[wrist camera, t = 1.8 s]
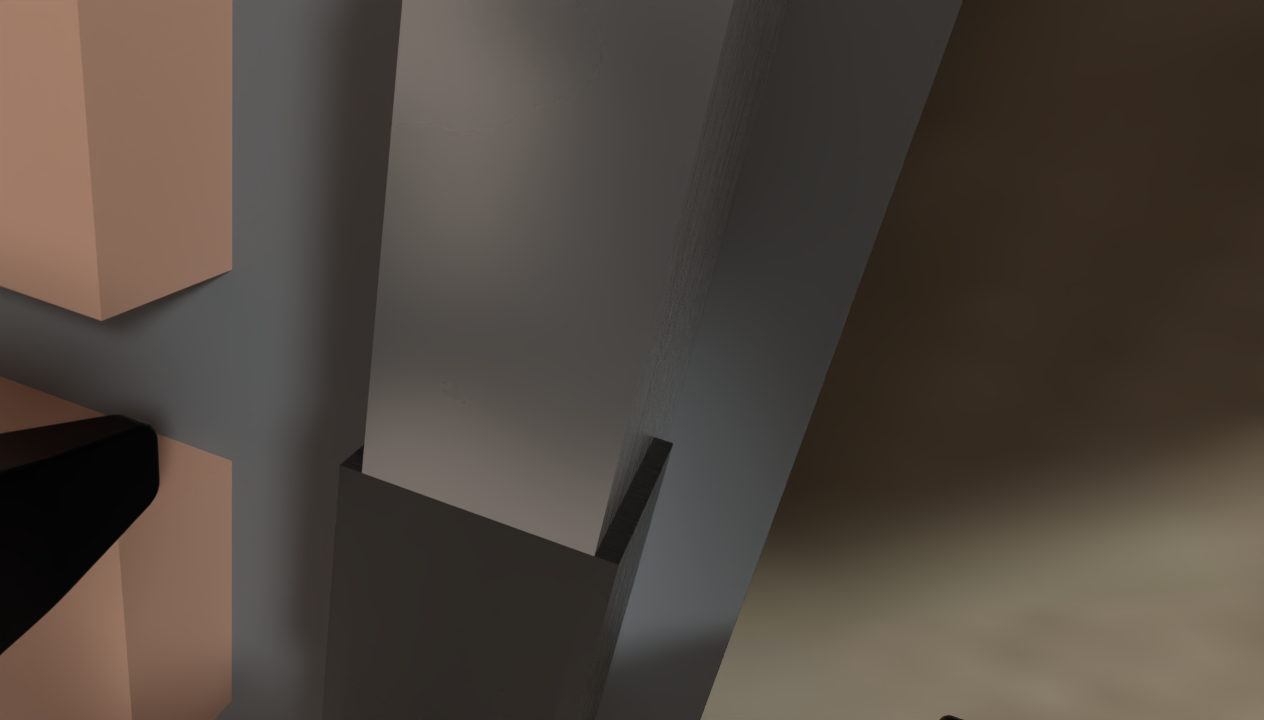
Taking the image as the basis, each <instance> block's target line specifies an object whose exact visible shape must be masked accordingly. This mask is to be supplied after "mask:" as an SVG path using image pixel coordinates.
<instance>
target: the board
mask: <svg viewBox="0 0 1264 720" xmlns="http://www.w3.org/2000/svg"><path fill="white" fill-rule="evenodd" d="M962 2H963V0H789V3H788V7H787V11H786V14H785V18H784V21H783V25H782V29H781V32H780V36H779V39H778V43H777V47H776V50H775V54H774V57H773V61H772V64H771V68H770V72H769V75H768V79H767V82H766V86H765V90H764V93H763V97H762V100H761V104H760V107H759V111H758V115H757V118H756V122H755V125H754V129H753V133H752V136H751V140H750V143H749V147H748V150H747V154H746V158H745V161H744V165H743V168H742V172H741V176H740V179H739V183H738V186H737V190H736V194H735V197H734V201H733V204H732V208H731V211H730V215H729V219H728V222H727V226H726V229H725V233H724V237H723V240H722V244H721V247H720V251H719V254H718V258H717V262H716V265H715V269H714V272H713V276H712V280H711V283H710V287H709V290H708V294H707V297H706V301H705V305H704V308H703V312H702V315H701V319H700V323H699V326H698V330H697V333H696V337H695V340H694V344H693V348H692V351H691V355H690V358H689V362H688V366H687V369H686V373H685V376H684V380H683V384H682V387H681V391H680V394H679V398H678V401H677V405H676V409H675V412H674V416H673V419H672V423H671V427H670V430H669V434H668V437H667V441H668V442H671V443H673V447H672V450H671V454H670V457H669V461H668V464H667V468H666V471H665V475H664V478H663V482H662V485H661V489H660V492H659V496H658V500H657V503H656V507H655V510H654V514H653V517H652V521H651V524H650V528H649V531H648V535H647V538H646V542H645V545H644V549H643V552H642V556H641V559H640V563H639V566H638V570H637V573H636V577H635V581H634V584H633V588H632V591H631V595H630V598H629V602H628V605H627V609H626V612H625V616H624V619H623V623H622V626H621V630H620V633H619V637H618V640H617V644H616V647H615V651H614V655H613V658H612V662H611V665H610V669H609V672H608V676H607V679H606V683H605V686H604V690H603V693H602V697H601V700H600V704H599V707H598V711H597V714H596V718H595V720H700V719H701V716H702V713H703V711H704V708H705V705H706V702H707V700H708V697H709V694H710V692H711V689H712V686H713V683H714V681H715V678H716V675H717V672H718V670H719V667H720V664H721V661H722V659H723V656H724V653H725V651H726V648H727V645H728V642H729V640H730V637H731V634H732V631H733V629H734V626H735V623H736V620H737V618H738V615H739V612H740V609H741V607H742V604H743V601H744V599H745V596H746V593H747V590H748V588H749V585H750V582H751V579H752V577H753V574H754V571H755V568H756V566H757V563H758V560H759V558H760V555H761V552H762V549H763V547H764V544H765V541H766V538H767V536H768V533H769V530H770V527H771V525H772V522H773V519H774V517H775V514H776V511H777V508H778V506H779V503H780V500H781V497H782V495H783V492H784V489H785V486H786V484H787V481H788V478H789V475H790V473H791V470H792V467H793V465H794V462H795V459H796V456H797V454H798V451H799V448H800V445H801V443H802V440H803V437H804V434H805V432H806V429H807V426H808V424H809V421H810V418H811V415H812V413H813V410H814V407H815V404H816V402H817V399H818V396H819V393H820V391H821V388H822V385H823V382H824V380H825V377H826V374H827V372H828V369H829V366H830V363H831V361H832V358H833V355H834V352H835V350H836V347H837V344H838V341H839V339H840V336H841V333H842V331H843V328H844V325H845V322H846V320H847V317H848V314H849V311H850V309H851V306H852V303H853V300H854V298H855V295H856V292H857V290H858V287H859V284H860V281H861V279H862V276H863V273H864V270H865V268H866V265H867V262H868V259H869V257H870V254H871V251H872V248H873V246H874V243H875V240H876V238H877V235H878V232H879V229H880V227H881V224H882V221H883V218H884V216H885V213H886V210H887V207H888V205H889V202H890V199H891V197H892V194H893V191H894V188H895V186H896V183H897V180H898V177H899V175H900V172H901V169H902V166H903V164H904V161H905V158H906V156H907V153H908V150H909V147H910V145H911V142H912V139H913V136H914V134H915V131H916V128H917V125H918V123H919V120H920V117H921V114H922V112H923V109H924V106H925V104H926V101H927V98H928V95H929V93H930V90H931V87H932V84H933V82H934V79H935V76H936V73H937V71H938V68H939V65H940V63H941V60H942V57H943V54H944V52H945V49H946V46H947V43H948V41H949V38H950V35H951V32H952V30H953V27H954V24H955V21H956V19H957V16H958V13H959V11H960V8H961V5H962ZM401 11H402V0H232V270H230V271H227V272H225V273H222V274H220V275H217V276H215V277H212V278H210V279H207V280H204V281H202V282H199V283H197V284H194V285H192V286H189V287H187V288H184V289H182V290H179V291H176V292H174V293H171V294H169V295H166V296H164V297H161V298H159V299H156V300H154V301H151V302H149V303H146V304H143V305H141V306H138V307H136V308H133V309H131V310H128V311H126V312H123V313H121V314H118V315H116V316H113V317H110V318H108V319H105V320H103V321H100V320H97V319H95V318H92V317H89V316H86V315H83V314H80V313H77V312H74V311H71V310H69V309H66V308H63V307H60V306H57V305H54V304H51V303H48V302H45V301H43V300H40V299H37V298H34V297H31V296H28V295H25V294H22V293H20V292H17V291H14V290H11V289H8V288H5V287H2V286H0V376H1V377H4V378H6V379H9V380H12V381H15V382H17V383H20V384H23V385H26V386H28V387H31V388H34V389H36V390H39V391H42V392H45V393H47V394H50V395H53V396H56V397H58V398H61V399H64V400H67V401H69V402H72V403H75V404H77V405H80V406H83V407H86V408H88V409H91V410H94V411H97V412H99V413H102V414H105V415H112V414H122V415H127V416H130V417H132V418H135V419H138V420H141V421H143V422H146V423H148V424H150V425H151V426H153V427H154V429H155V430H156V432H157V434H159V435H162V436H165V437H168V438H170V439H173V440H176V441H179V442H181V443H184V444H187V445H190V446H192V447H195V448H198V449H200V450H203V451H206V452H209V453H211V454H214V455H217V456H220V457H222V458H225V459H228V460H231V461H232V701H231V702H230V703H229V704H228V705H227V706H226V707H225V708H224V710H223V711H222V712H221V713H220V714H219V715H218V716H217V717H216V718H215V719H214V720H322V707H323V693H324V679H325V665H326V651H327V637H328V623H329V609H330V595H331V581H332V566H333V552H334V538H335V524H336V510H337V496H338V482H339V468H340V464H341V463H343V462H344V461H345V460H346V459H347V458H348V457H350V456H351V455H352V454H353V453H354V452H356V451H357V450H358V449H359V448H360V447H361V446H363V445H364V442H365V430H366V419H367V407H368V395H369V384H370V372H371V360H372V349H373V337H374V326H375V314H376V302H377V291H378V279H379V267H380V256H381V244H382V232H383V221H384V209H385V197H386V186H387V174H388V163H389V151H390V139H391V128H392V116H393V104H394V93H395V81H396V69H397V58H398V46H399V35H400V23H401Z"/></svg>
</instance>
